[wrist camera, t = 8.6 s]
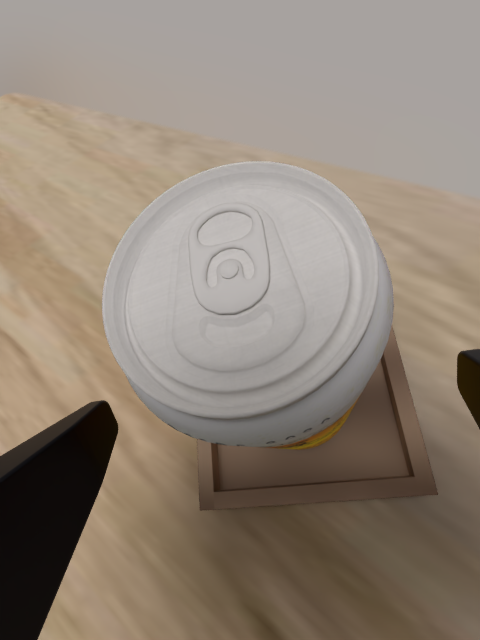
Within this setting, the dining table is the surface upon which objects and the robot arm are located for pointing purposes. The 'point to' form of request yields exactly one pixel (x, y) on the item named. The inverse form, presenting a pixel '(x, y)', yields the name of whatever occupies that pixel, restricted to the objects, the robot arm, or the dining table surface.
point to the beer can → (249, 306)
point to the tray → (330, 455)
